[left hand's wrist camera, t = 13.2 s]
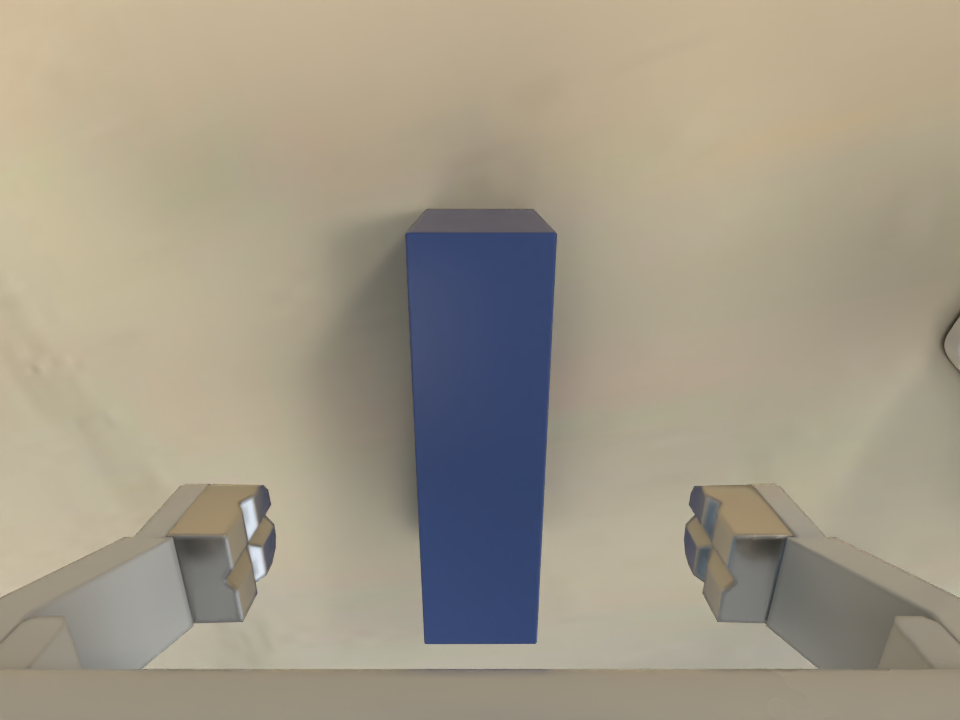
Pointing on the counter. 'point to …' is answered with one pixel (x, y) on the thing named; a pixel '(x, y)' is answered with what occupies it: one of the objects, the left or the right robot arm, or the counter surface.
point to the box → (480, 417)
